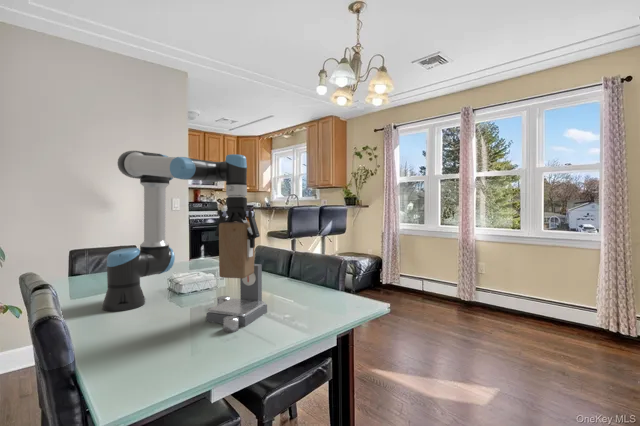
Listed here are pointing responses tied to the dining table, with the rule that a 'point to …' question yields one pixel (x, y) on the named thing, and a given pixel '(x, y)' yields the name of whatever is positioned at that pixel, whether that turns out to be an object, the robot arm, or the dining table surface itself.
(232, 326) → the cylinder
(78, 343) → the dining table surface
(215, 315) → the base
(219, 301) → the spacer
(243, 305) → the pan
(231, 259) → the wooden block
